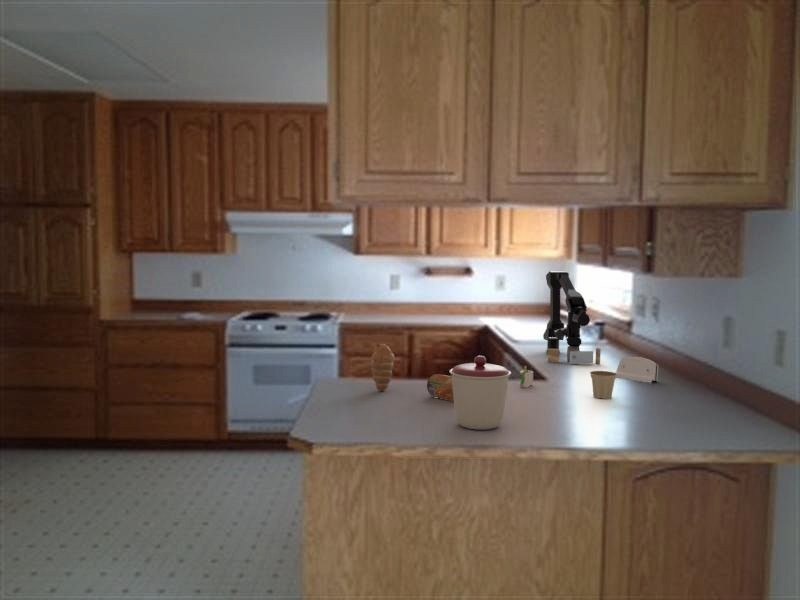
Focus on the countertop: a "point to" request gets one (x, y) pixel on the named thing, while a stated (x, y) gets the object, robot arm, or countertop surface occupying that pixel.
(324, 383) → the countertop surface
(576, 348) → the block
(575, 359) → the door
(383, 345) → the croissant
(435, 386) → the tin
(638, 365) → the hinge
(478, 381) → the canister
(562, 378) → the countertop surface
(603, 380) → the flower pot
